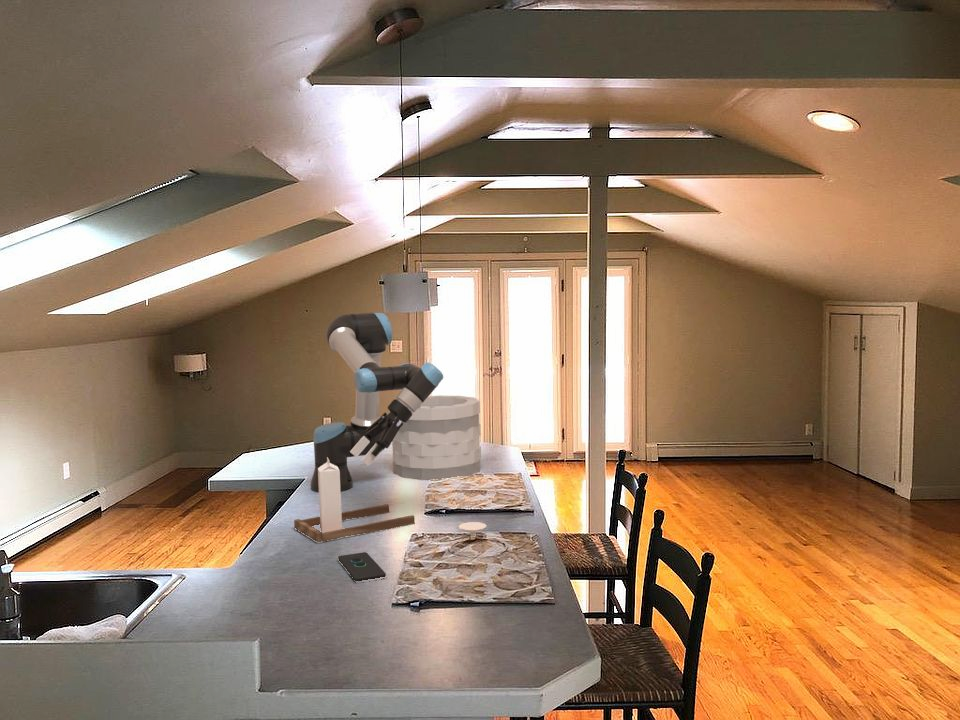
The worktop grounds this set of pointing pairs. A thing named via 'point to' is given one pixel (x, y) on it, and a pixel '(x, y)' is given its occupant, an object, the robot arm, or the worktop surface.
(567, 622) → the worktop surface
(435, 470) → the storage basket
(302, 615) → the worktop surface
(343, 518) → the bay
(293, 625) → the worktop surface
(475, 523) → the hand towel holder
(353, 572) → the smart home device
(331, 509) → the milk
